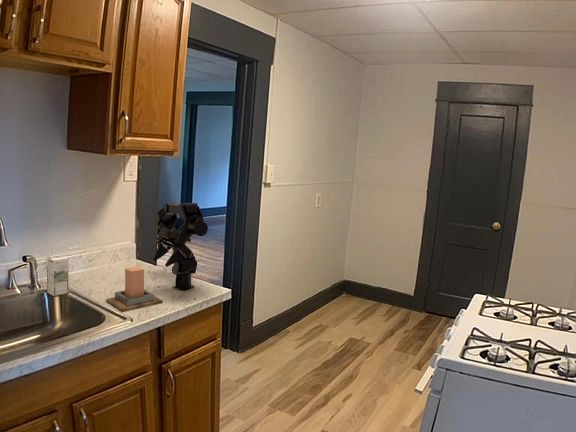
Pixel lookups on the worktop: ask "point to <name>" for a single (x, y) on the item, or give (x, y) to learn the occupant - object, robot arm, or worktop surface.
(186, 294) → the worktop surface
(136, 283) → the terracotta block
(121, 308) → the collar board
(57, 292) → the syrup box
